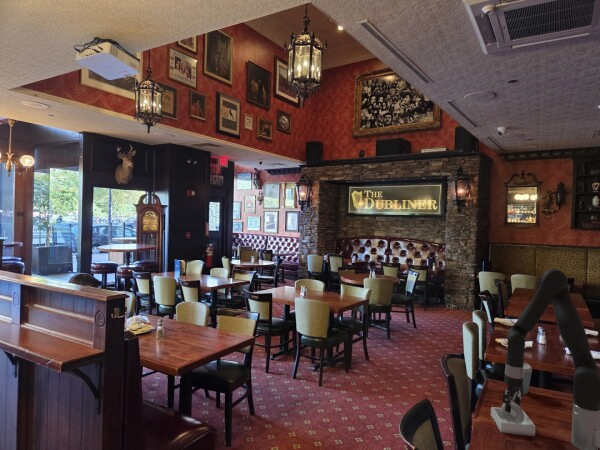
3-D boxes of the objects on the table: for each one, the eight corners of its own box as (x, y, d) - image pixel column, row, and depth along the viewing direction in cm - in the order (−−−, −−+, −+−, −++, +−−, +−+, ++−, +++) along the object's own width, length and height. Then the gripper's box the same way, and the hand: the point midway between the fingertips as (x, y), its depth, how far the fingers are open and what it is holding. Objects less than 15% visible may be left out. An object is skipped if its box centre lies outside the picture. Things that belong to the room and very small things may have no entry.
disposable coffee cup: (534, 397, 208) (535, 369, 208) (512, 394, 210) (513, 367, 210) (527, 388, 218) (528, 361, 218) (506, 386, 221) (507, 359, 220)
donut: (499, 419, 182) (500, 398, 181) (503, 417, 184) (504, 396, 183) (521, 430, 174) (522, 407, 173) (525, 427, 176) (526, 405, 175)
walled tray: (522, 419, 185) (522, 410, 184) (535, 436, 171) (535, 426, 171) (490, 416, 187) (491, 406, 187) (500, 432, 173) (501, 422, 173)
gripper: (515, 381, 171) (513, 417, 171) (530, 373, 179) (528, 408, 180) (497, 375, 177) (496, 410, 177) (513, 368, 185) (511, 402, 186)
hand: (512, 409), depth 179 cm, fingers open, 8 cm apart
